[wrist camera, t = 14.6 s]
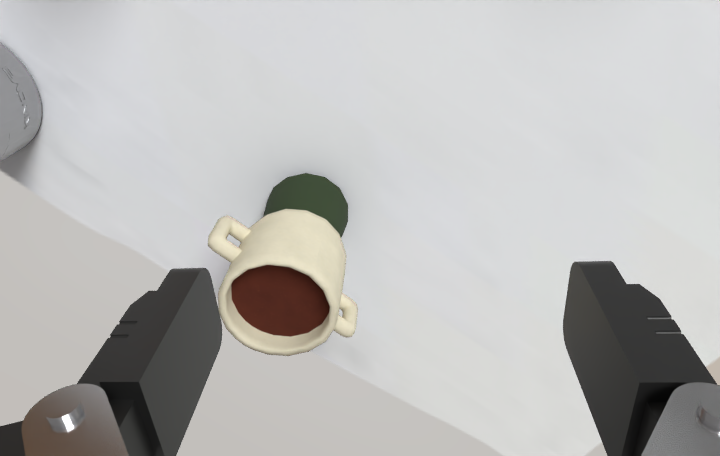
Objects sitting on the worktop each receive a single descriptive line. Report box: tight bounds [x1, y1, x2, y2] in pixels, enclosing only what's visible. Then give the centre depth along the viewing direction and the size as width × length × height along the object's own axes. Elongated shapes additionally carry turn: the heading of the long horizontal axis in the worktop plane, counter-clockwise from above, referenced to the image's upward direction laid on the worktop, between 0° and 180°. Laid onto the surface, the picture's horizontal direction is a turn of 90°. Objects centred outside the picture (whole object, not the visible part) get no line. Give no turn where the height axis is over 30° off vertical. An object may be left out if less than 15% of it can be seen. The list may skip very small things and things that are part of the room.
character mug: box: [208, 173, 358, 356], centre depth 38 cm, size 11×7×13 cm, turn 51°
